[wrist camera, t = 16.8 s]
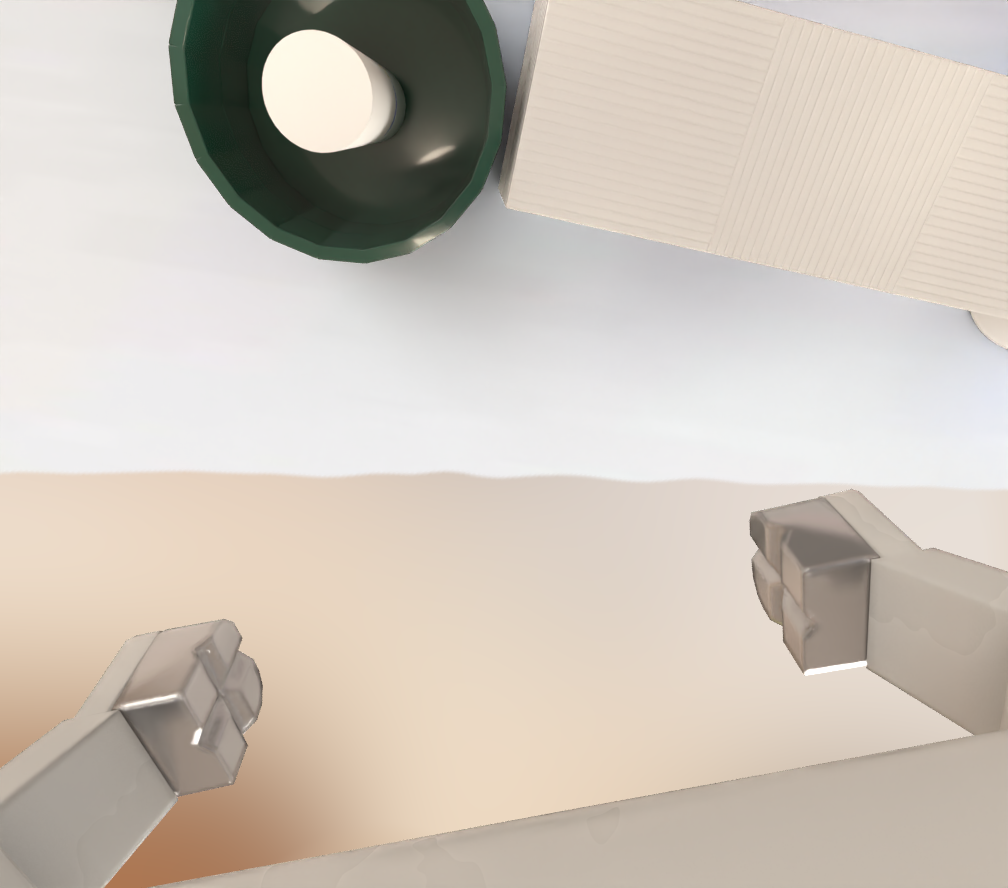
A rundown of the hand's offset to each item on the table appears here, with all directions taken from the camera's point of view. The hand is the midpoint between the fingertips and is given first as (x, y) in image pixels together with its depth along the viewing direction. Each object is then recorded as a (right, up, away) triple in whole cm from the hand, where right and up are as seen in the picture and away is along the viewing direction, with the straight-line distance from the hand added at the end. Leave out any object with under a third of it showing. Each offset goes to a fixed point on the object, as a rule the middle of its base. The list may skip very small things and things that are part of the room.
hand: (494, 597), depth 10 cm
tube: (-8, +23, +29) cm, 38 cm away
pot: (-8, +23, +30) cm, 38 cm away
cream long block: (+17, +21, +32) cm, 42 cm away
